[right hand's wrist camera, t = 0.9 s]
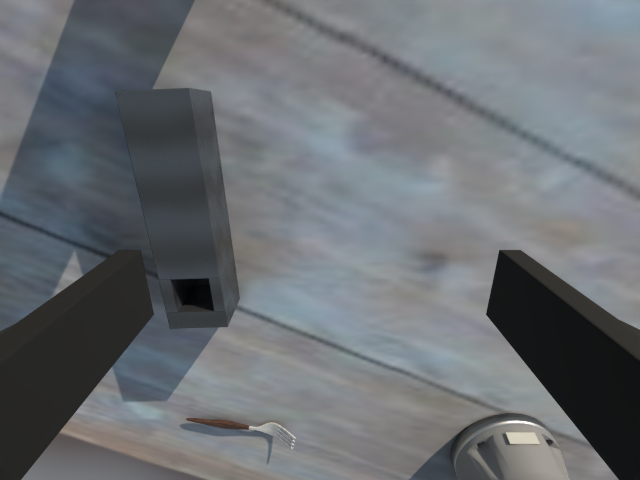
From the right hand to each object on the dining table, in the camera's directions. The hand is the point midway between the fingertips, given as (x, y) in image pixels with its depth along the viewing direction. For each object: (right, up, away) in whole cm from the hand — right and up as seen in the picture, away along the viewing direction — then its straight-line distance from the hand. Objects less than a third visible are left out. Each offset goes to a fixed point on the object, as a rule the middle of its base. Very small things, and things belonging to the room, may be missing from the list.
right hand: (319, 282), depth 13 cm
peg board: (-14, +5, +26) cm, 30 cm away
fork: (-12, -25, +38) cm, 47 cm away
